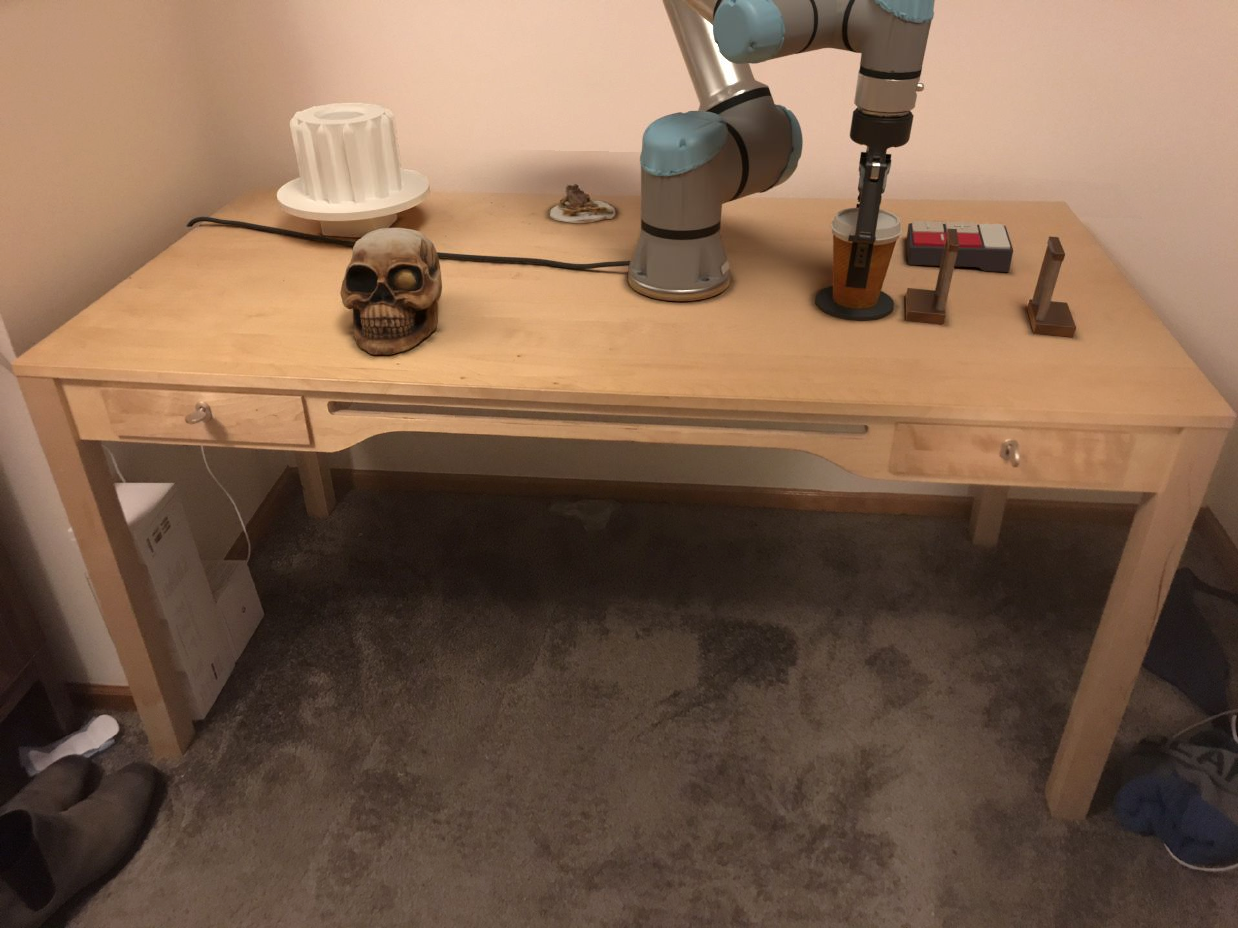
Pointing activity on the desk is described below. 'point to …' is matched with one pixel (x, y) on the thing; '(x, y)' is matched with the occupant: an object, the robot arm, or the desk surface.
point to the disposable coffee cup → (880, 259)
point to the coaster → (832, 308)
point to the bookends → (1040, 309)
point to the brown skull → (392, 290)
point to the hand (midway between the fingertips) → (857, 267)
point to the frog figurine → (581, 208)
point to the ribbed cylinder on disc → (349, 170)
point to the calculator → (960, 244)
